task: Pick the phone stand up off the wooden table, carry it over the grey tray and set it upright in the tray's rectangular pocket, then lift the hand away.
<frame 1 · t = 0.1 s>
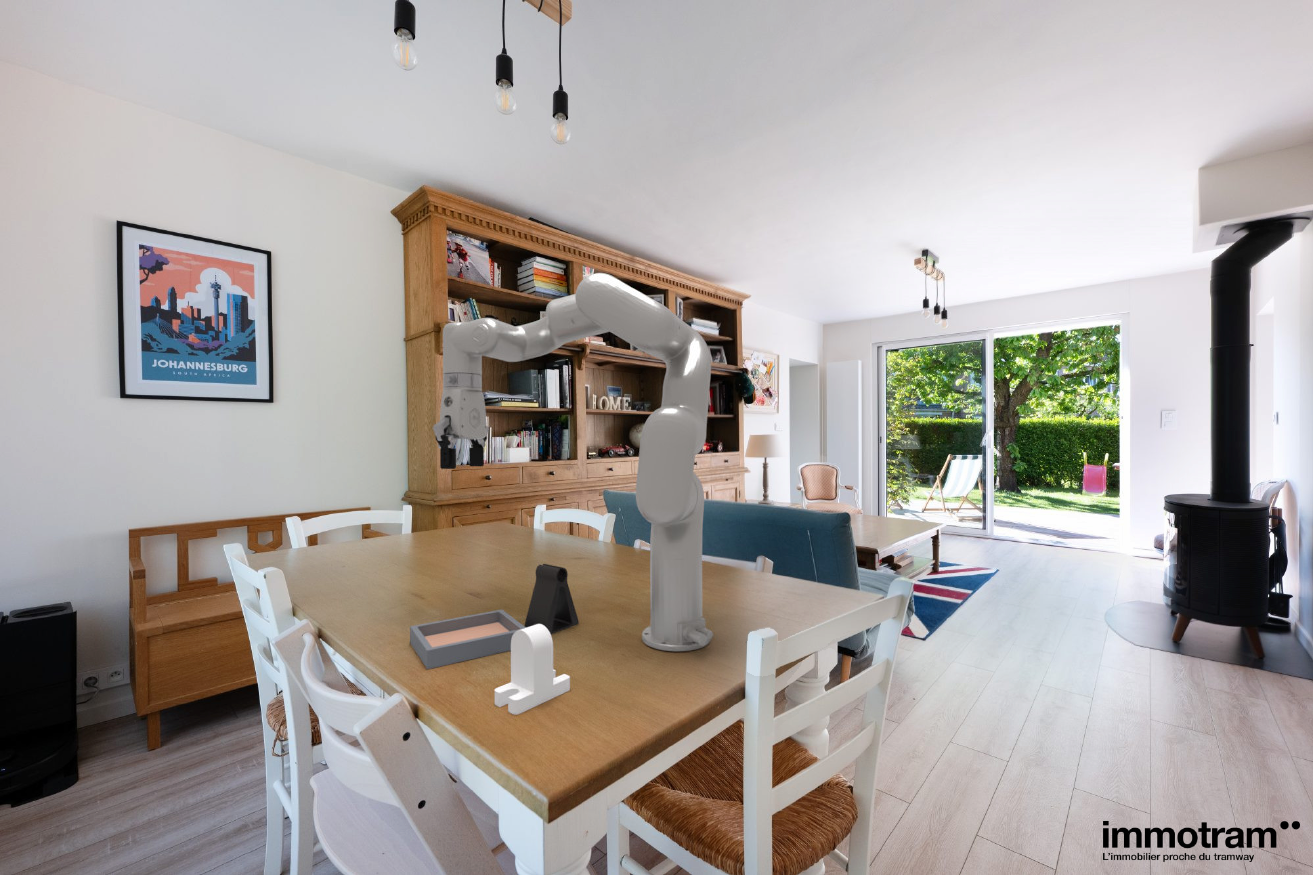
hand: (462, 467, 113), 31 cm above the table, tool pointing down, fingers open, 9 cm apart
phone stand: (551, 628, 108), on the table
cable organizer: (533, 697, 79), on the table
grey tray: (468, 644, 99), on the table
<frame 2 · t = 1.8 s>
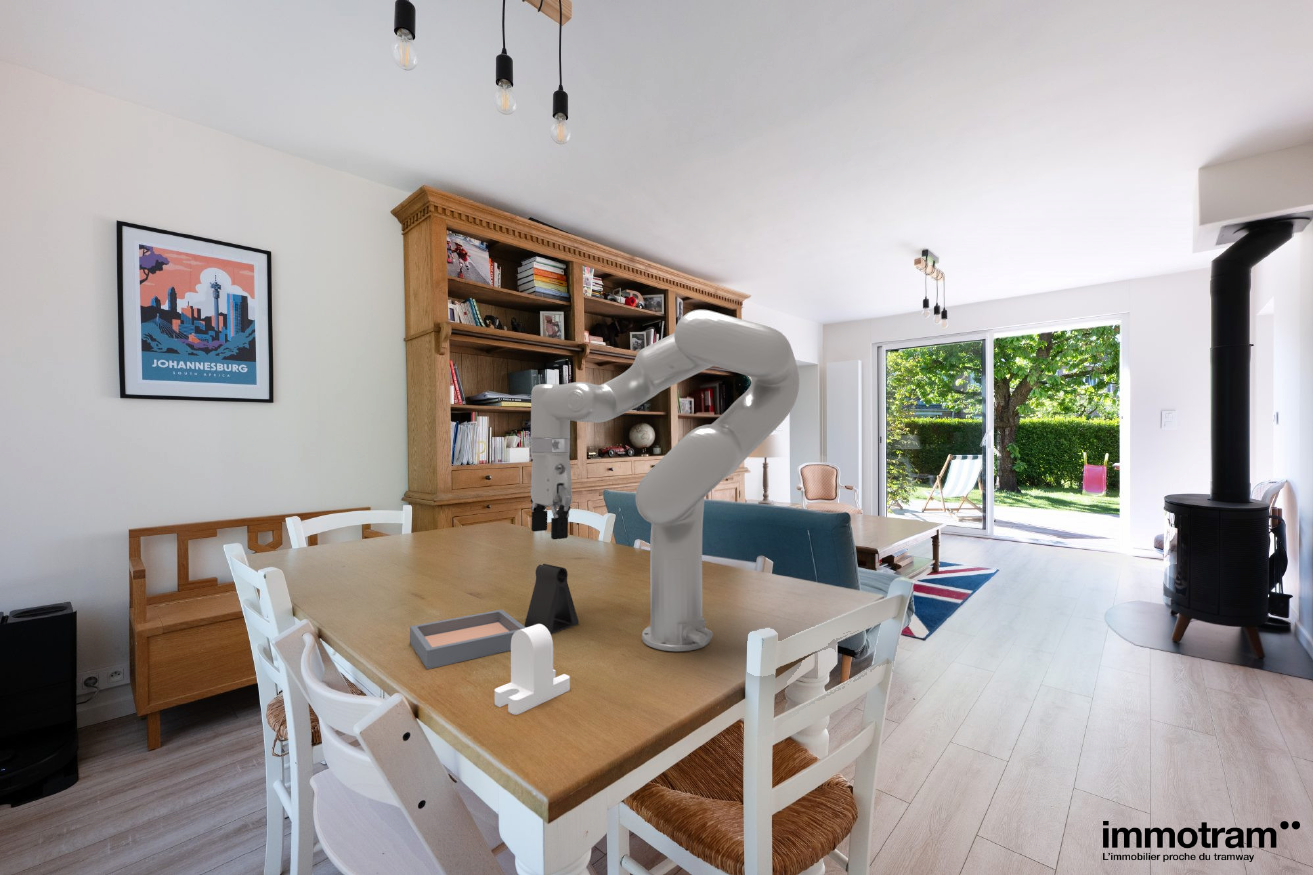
hand: (549, 534, 108), 18 cm above the table, tool pointing down, fingers open, 9 cm apart
nothing on the table moved.
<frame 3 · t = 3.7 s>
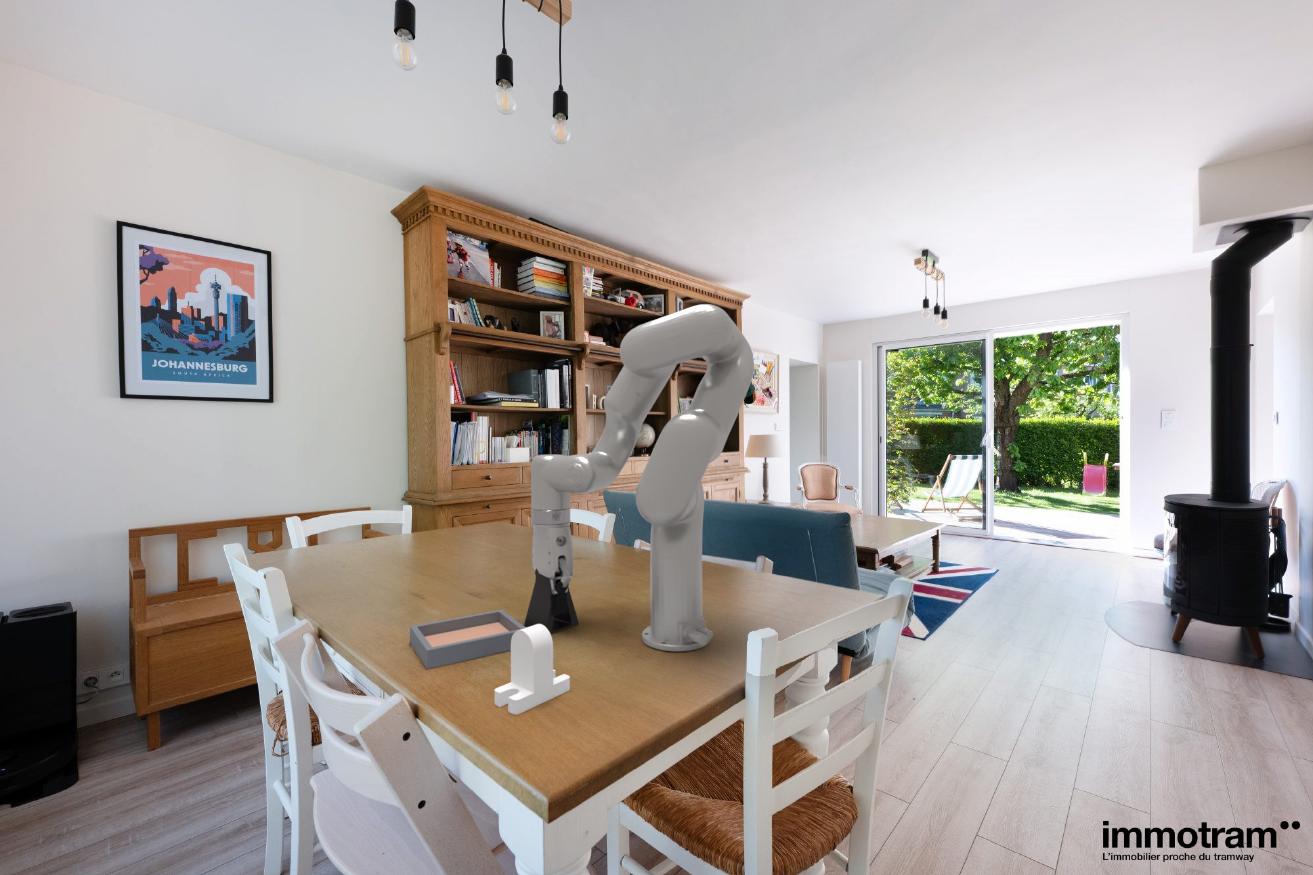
hand: (551, 608, 108), 4 cm above the table, tool pointing down, fingers closed on phone stand, 6 cm apart
phone stand: (551, 628, 108), on the table, touching gripper
everything else where it was.
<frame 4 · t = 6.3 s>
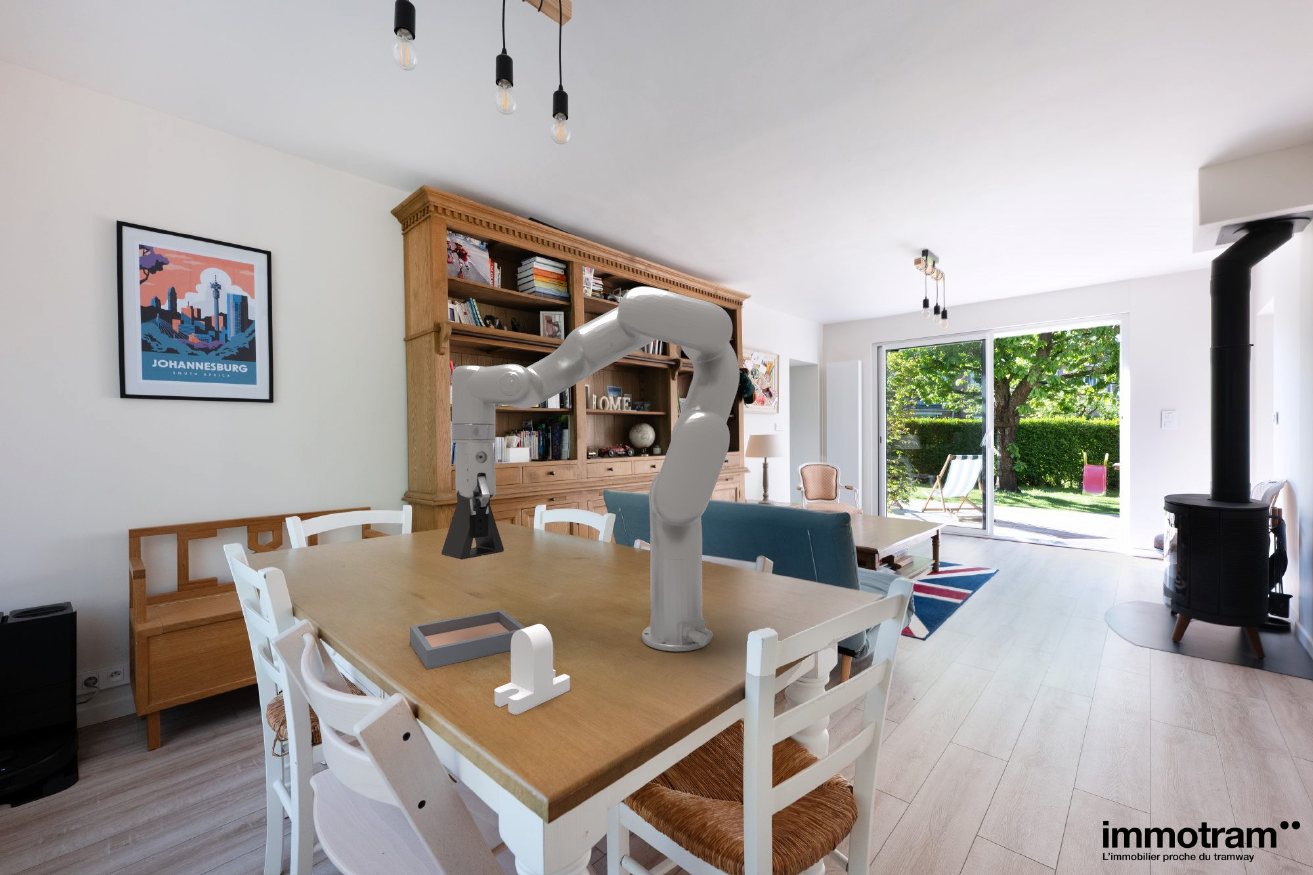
hand: (473, 533, 99), 20 cm above the table, tool pointing down, fingers closed on phone stand, 6 cm apart
phone stand: (473, 554, 99), point 16 cm above the table, touching gripper
everything else where it was.
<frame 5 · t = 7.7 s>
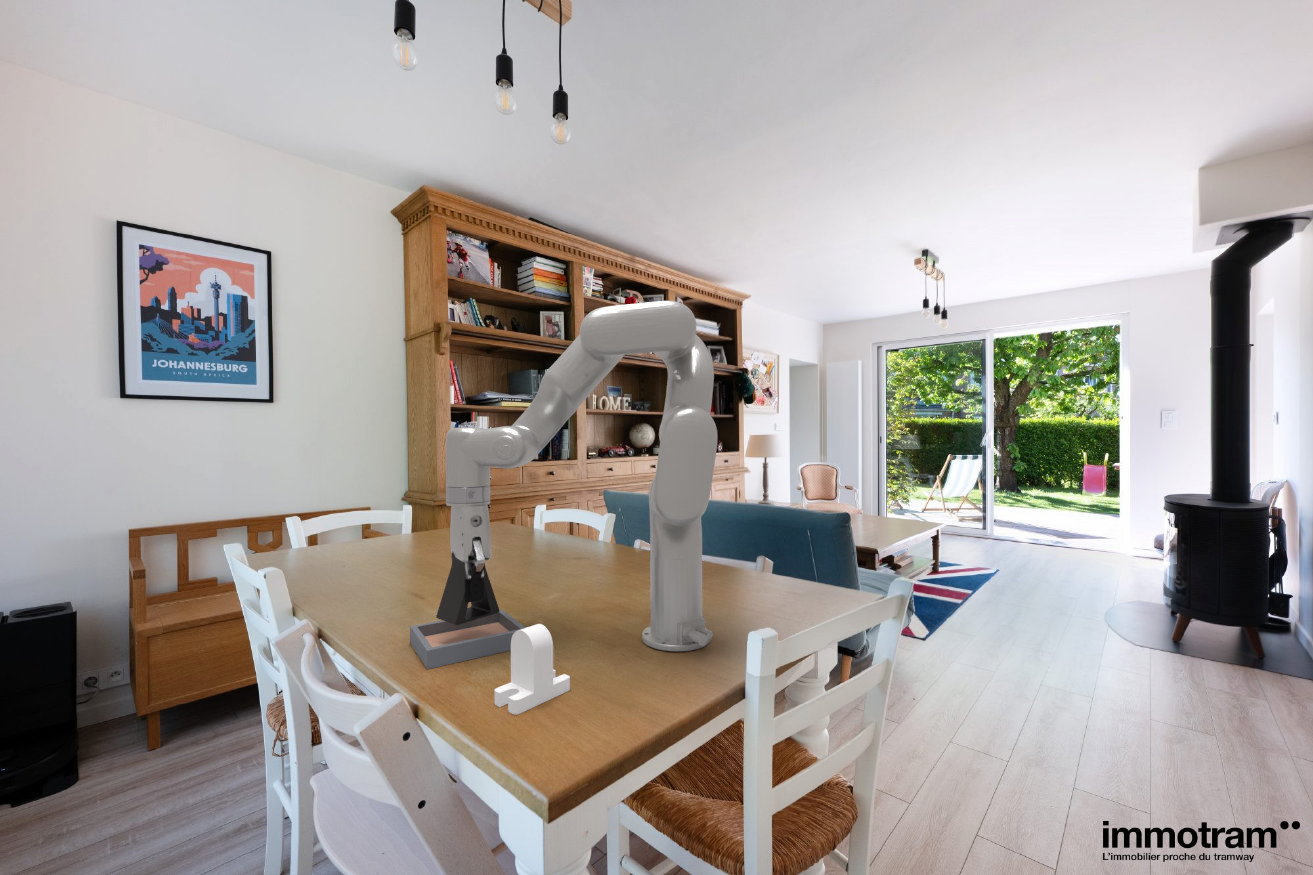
hand: (468, 595, 99), 9 cm above the table, tool pointing down, fingers closed on phone stand, 6 cm apart
phone stand: (468, 616, 99), point 5 cm above the table, touching gripper
everything else where it was.
when the fingers open (5 cm above the table, at t = 9.1 s): phone stand stays where it is, resting on grey tray.
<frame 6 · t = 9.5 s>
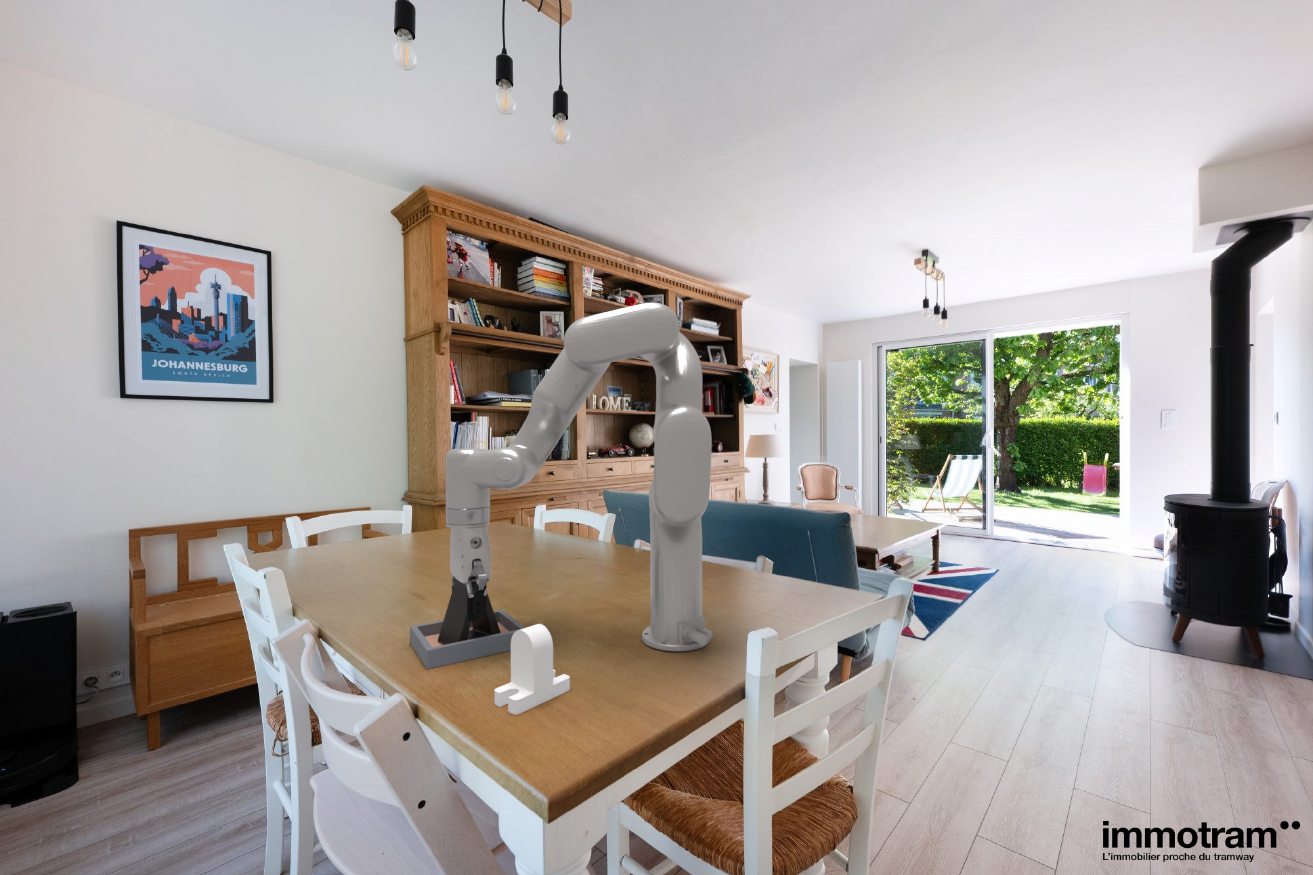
hand: (468, 612, 99), 6 cm above the table, tool pointing down, fingers open, 9 cm apart
phone stand: (469, 640, 99), point 1 cm above the table, touching grey tray
everything else where it was.
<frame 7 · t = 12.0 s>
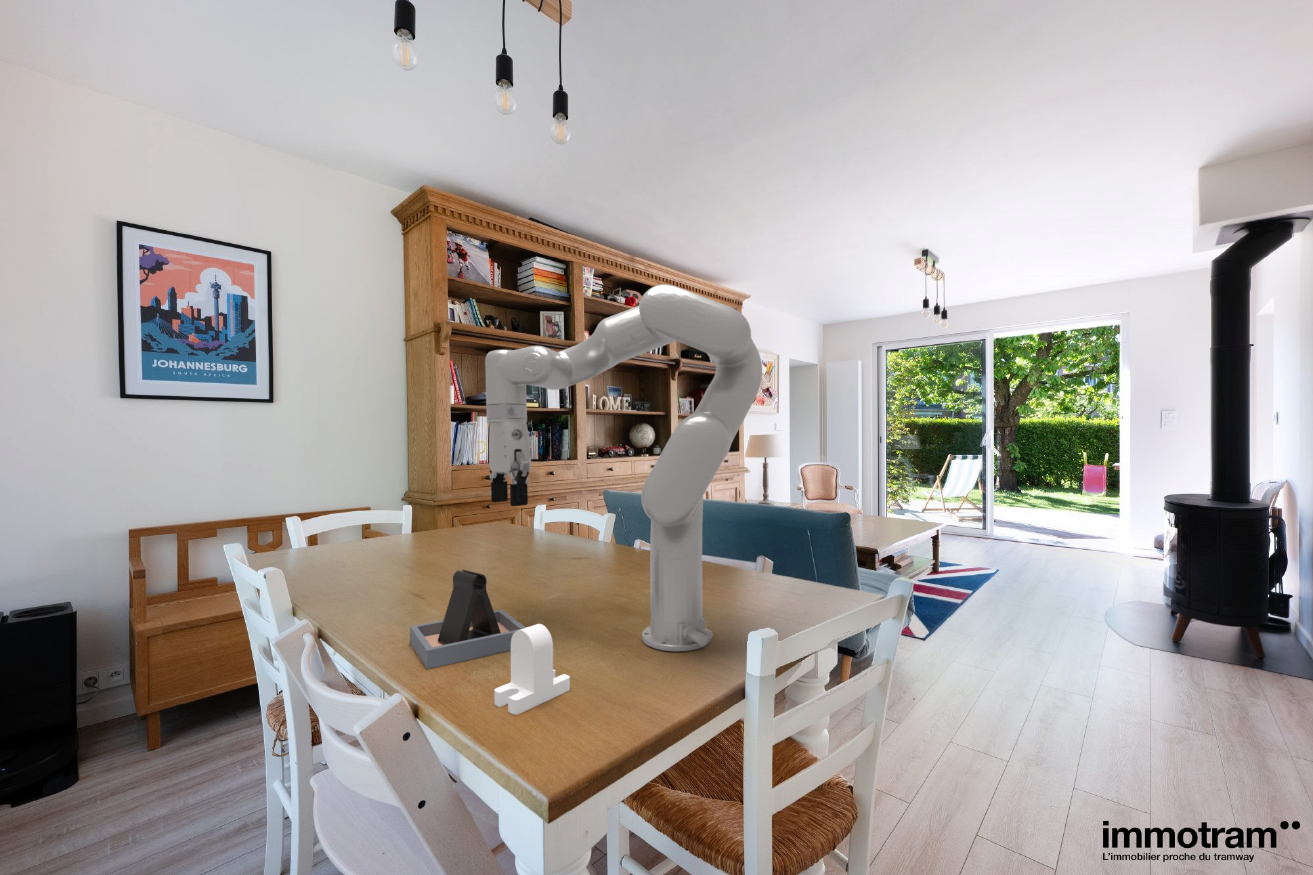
hand: (509, 503, 106), 24 cm above the table, tool pointing down, fingers open, 9 cm apart
nothing on the table moved.
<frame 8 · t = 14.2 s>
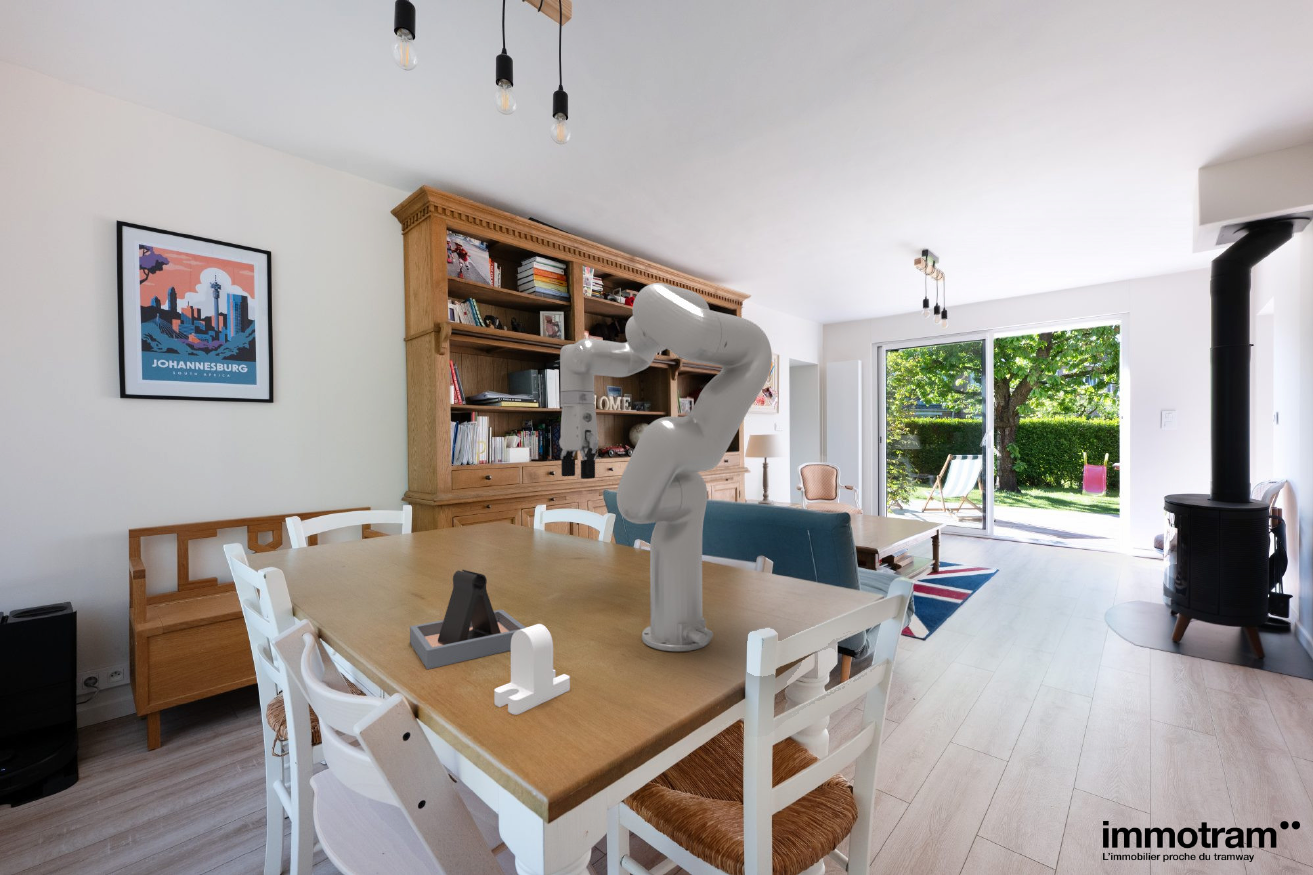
hand: (577, 477, 123), 28 cm above the table, tool pointing down, fingers open, 9 cm apart
nothing on the table moved.
at the end: phone stand inside the target area on the grey tray (0.2 cm from its centre), point 0.8 cm above the grey tray's base; phone stand tilted 0°; the gripper is holding nothing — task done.
